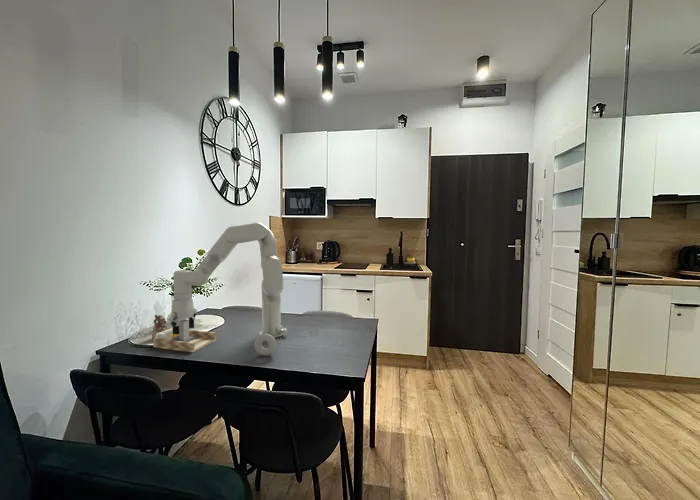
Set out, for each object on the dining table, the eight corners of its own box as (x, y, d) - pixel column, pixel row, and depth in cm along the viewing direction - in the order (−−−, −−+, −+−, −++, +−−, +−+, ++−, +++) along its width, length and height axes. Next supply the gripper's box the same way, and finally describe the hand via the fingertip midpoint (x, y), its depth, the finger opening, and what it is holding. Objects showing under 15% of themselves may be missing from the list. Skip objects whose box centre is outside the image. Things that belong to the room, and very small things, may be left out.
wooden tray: (216, 340, 161) (215, 332, 161) (193, 352, 146) (192, 343, 145) (179, 336, 166) (179, 328, 166) (153, 347, 151) (153, 338, 151)
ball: (177, 329, 159) (174, 335, 160) (171, 332, 155) (167, 338, 156) (183, 334, 158) (179, 340, 159) (177, 337, 155) (173, 343, 155)
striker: (194, 338, 159) (193, 319, 159) (182, 344, 152) (181, 323, 151) (185, 337, 161) (184, 318, 160) (172, 343, 153) (172, 322, 152)
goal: (187, 336, 164) (187, 324, 164) (165, 345, 150) (165, 333, 150) (178, 334, 165) (178, 323, 165) (156, 344, 152) (155, 332, 151)
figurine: (161, 341, 159) (160, 317, 158) (148, 339, 161) (148, 316, 160) (171, 336, 166) (171, 313, 165) (159, 335, 168) (159, 312, 167)
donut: (253, 356, 142) (252, 334, 141) (255, 353, 145) (255, 332, 144) (275, 357, 141) (275, 335, 140) (277, 354, 145) (277, 332, 144)
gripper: (189, 292, 164) (190, 324, 165) (161, 299, 147) (162, 335, 148) (202, 293, 162) (202, 326, 163) (175, 300, 145) (176, 337, 146)
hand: (183, 330), depth 156 cm, fingers open, 9 cm apart
